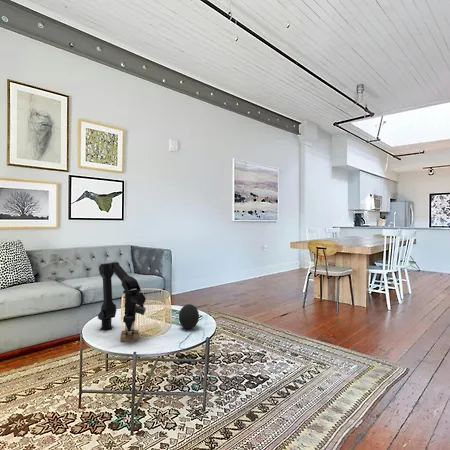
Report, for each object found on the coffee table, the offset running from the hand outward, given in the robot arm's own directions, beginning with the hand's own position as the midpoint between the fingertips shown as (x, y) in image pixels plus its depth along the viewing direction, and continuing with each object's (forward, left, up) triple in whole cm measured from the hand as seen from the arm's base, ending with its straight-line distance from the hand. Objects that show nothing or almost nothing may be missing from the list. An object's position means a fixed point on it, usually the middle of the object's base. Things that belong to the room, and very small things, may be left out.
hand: (129, 329), depth 182 cm
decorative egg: (-10, +35, -5) cm, 36 cm away
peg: (0, 0, -3) cm, 3 cm away
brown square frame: (0, 0, -5) cm, 5 cm away
